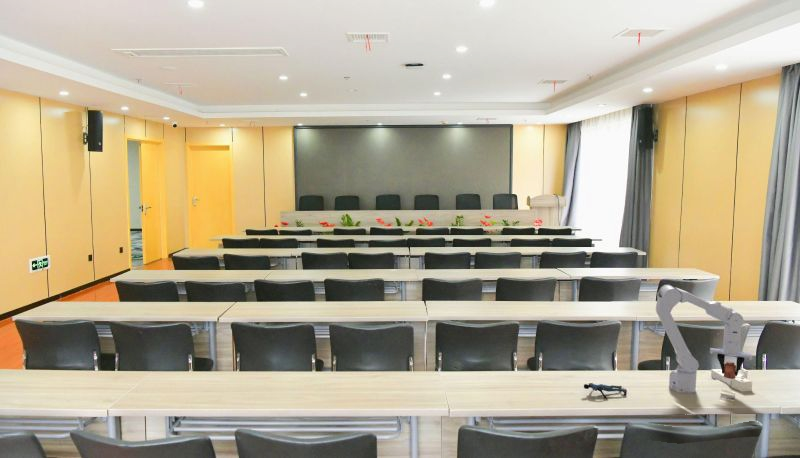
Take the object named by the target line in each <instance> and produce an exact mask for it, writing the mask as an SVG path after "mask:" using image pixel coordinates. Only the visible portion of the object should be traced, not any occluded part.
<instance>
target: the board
mask: <svg viewBox="0 0 800 458" xmlns="http://www.w3.org/2000/svg"><path fill="white" fill-rule="evenodd" d="M735 399H736V391H732V390H727V389H723V388H722V389H721V393H720V397H719V401H718V402H719V403H725V404H730V405H735Z"/></svg>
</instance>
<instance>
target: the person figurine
mask: <svg viewBox="0 0 800 458" xmlns="http://www.w3.org/2000/svg"><path fill="white" fill-rule="evenodd" d="M583 388H584V389H586V390H588V389H590V388H591V389H592V390H593V391H595V392H596V391H598V392H600V394H601V395H602V396H603V398H604V399H605V400H606V401H608V399H609V398H608V397H607V396H606V395H605V393H604V391H605V392H620V393H623V394H624V395H623V396H627V394H628V392H627V391H628V390H627V389H626V387H625V386H622V385H612V384H611V385H606V384H602V383H601V384H600V383H599V384H595V383H593V382H590V383H588V384H587V383H584V384H583Z"/></svg>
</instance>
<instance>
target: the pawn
mask: <svg viewBox="0 0 800 458" xmlns="http://www.w3.org/2000/svg"><path fill="white" fill-rule="evenodd" d="M736 365H737V364H735V362H733V361H729V360H728V361H726V362H724V377H725V378H729V379H735V373H736Z"/></svg>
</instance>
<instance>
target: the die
mask: <svg viewBox="0 0 800 458" xmlns="http://www.w3.org/2000/svg"><path fill="white" fill-rule="evenodd" d="M731 388H733V389H735V390H737V391H739V392H750V391H751V392H752V390H753V381H752V380H750V379H748V378H747V379H746V378H744V377H736V378H735V379H732V386H731Z"/></svg>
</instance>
